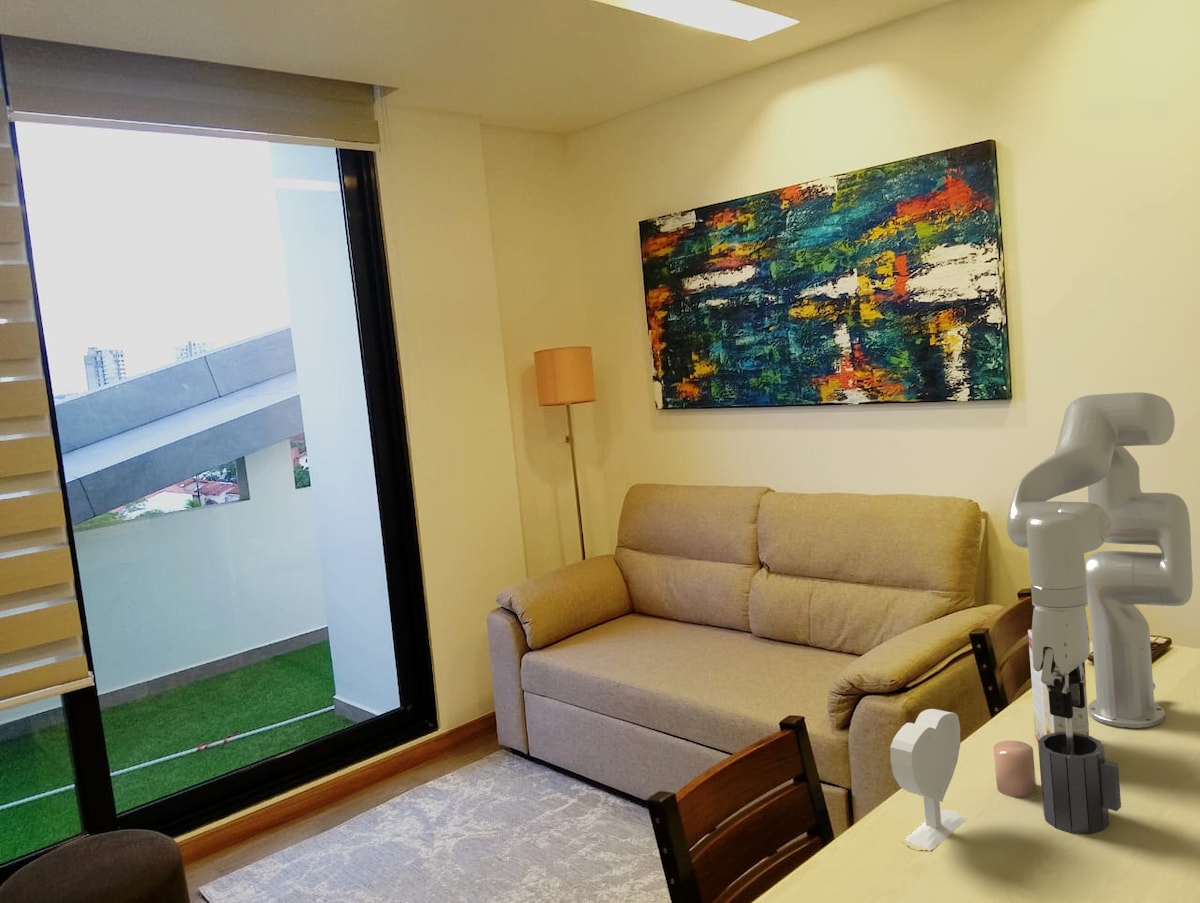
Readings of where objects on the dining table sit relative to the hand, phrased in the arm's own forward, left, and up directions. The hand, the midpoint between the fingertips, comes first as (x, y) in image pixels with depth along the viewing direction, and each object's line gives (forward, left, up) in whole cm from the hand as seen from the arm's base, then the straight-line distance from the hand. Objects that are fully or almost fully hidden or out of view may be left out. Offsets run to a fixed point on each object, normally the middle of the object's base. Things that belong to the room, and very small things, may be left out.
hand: (1067, 709), depth 141 cm
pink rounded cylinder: (-4, -11, -18) cm, 21 cm away
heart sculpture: (+15, -15, -18) cm, 28 cm away
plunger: (0, 0, -10) cm, 10 cm away
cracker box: (-20, -10, -18) cm, 29 cm away
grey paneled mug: (0, 0, -18) cm, 18 cm away
